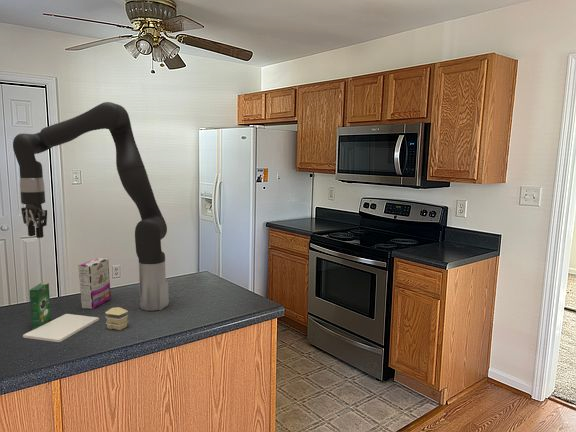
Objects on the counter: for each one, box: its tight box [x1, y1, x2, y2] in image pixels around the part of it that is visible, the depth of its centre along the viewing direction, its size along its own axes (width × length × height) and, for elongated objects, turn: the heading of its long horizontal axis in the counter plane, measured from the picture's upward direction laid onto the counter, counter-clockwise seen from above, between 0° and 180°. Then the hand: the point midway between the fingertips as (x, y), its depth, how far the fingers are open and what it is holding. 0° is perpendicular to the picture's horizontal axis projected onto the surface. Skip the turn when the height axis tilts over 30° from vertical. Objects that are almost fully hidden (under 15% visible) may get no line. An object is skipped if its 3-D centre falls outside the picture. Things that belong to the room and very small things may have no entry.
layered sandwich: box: [104, 306, 129, 331], centre depth 138 cm, size 10×9×6 cm
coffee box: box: [28, 282, 52, 330], centre depth 138 cm, size 8×3×13 cm, turn 5°
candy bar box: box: [78, 257, 112, 310], centre depth 157 cm, size 11×5×16 cm, turn 168°
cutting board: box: [22, 313, 100, 343], centre depth 136 cm, size 13×18×1 cm
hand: (35, 236), depth 154 cm, fingers open, 5 cm apart
